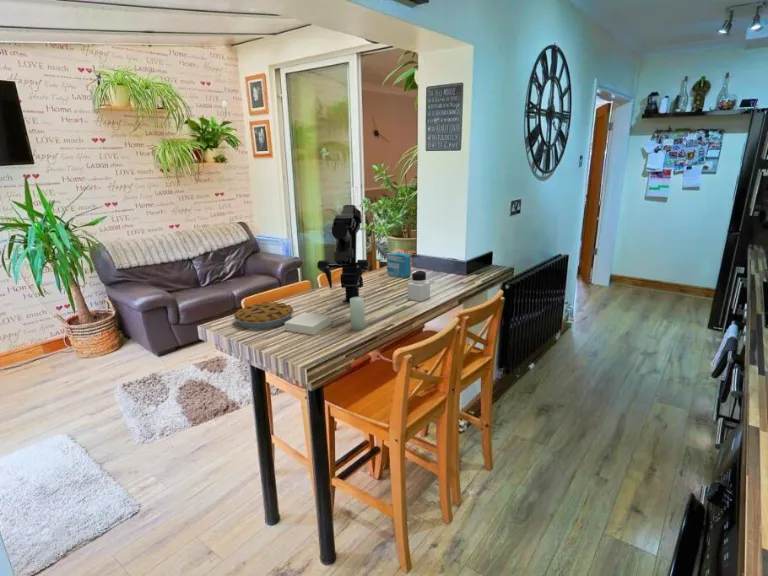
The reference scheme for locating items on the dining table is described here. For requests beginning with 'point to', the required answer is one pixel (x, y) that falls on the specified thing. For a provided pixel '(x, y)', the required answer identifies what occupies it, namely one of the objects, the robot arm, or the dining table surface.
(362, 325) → the ball
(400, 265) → the data package
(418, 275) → the medicine bottle
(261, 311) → the pie
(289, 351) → the dining table surface
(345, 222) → the robot arm
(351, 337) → the dining table surface
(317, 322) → the stand
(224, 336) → the dining table surface
